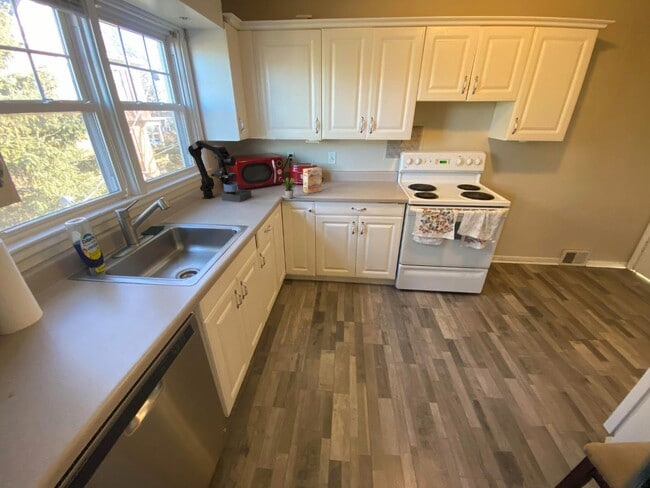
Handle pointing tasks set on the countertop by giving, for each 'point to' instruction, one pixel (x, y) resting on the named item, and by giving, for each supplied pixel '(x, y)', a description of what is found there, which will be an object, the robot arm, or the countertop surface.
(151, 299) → the countertop surface
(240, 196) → the tote
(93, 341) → the countertop surface
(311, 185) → the coffeecake box
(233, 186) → the rice bowl
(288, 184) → the house plant
